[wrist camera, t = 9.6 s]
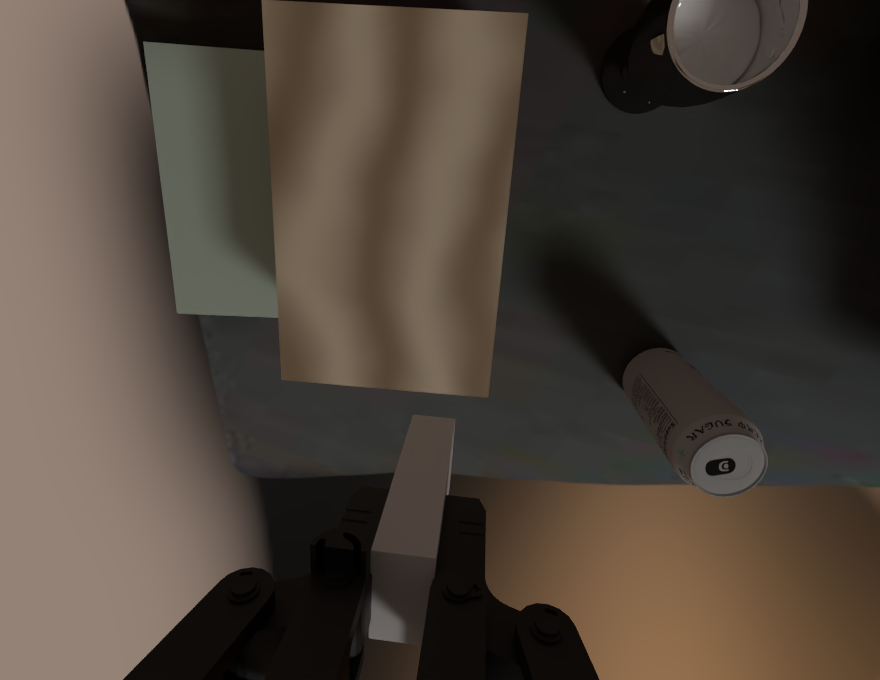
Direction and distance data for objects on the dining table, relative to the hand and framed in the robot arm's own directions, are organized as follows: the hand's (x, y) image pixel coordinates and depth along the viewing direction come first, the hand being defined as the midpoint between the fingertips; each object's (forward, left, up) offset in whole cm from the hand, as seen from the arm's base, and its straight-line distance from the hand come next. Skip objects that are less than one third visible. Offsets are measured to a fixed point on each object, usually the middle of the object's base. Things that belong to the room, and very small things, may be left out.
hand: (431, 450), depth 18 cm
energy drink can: (-19, +8, -29) cm, 35 cm away
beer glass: (-13, -17, -29) cm, 36 cm away
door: (+13, -6, -28) cm, 31 cm away
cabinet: (+4, -6, -29) cm, 30 cm away
